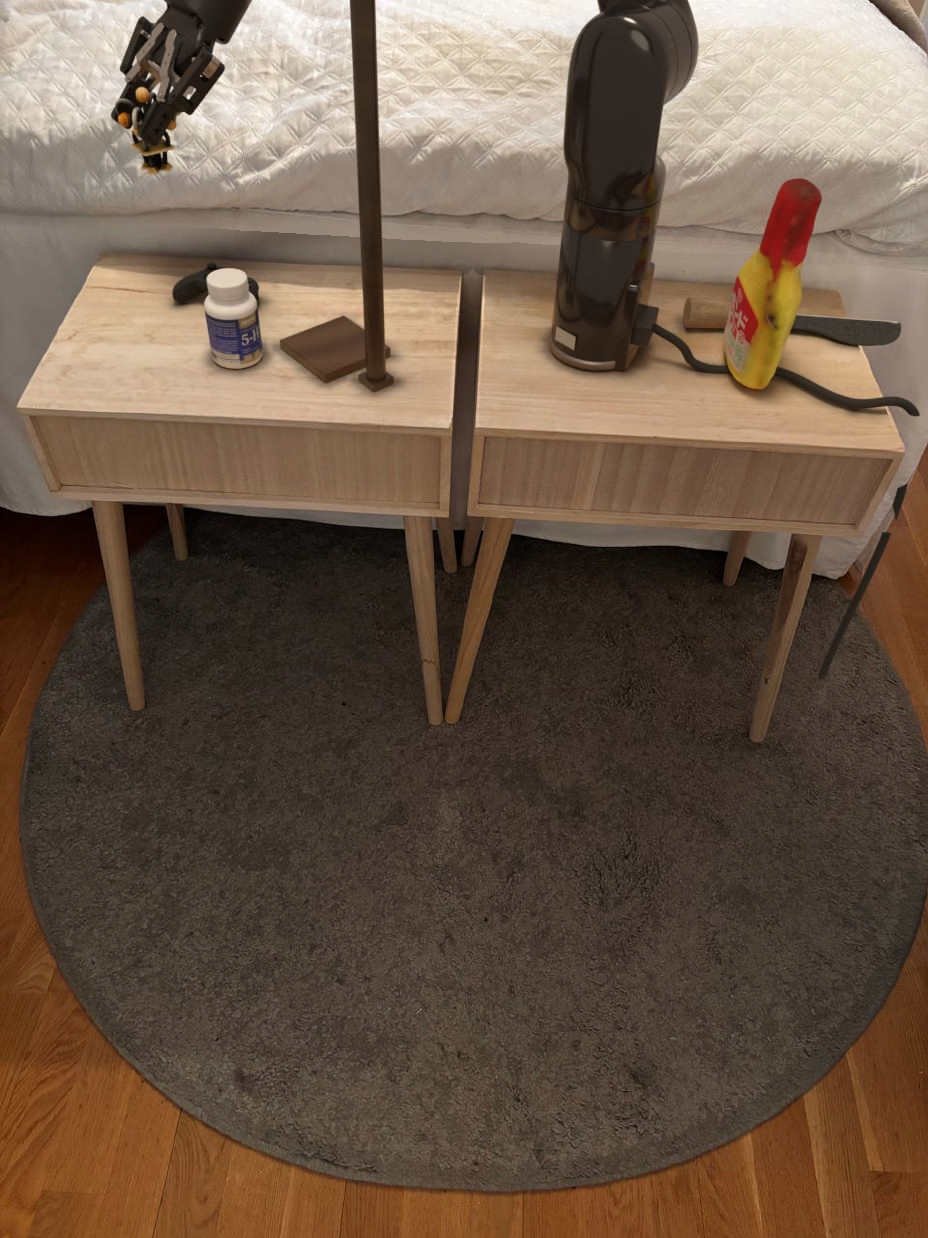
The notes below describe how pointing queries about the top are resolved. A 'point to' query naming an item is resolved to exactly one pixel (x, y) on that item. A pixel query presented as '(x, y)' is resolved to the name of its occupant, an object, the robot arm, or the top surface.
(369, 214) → the display stand
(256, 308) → the pill bottle
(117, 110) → the decorative sculpture
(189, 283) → the game controller
